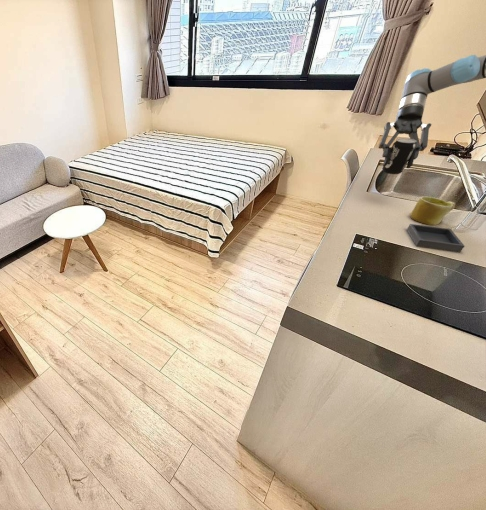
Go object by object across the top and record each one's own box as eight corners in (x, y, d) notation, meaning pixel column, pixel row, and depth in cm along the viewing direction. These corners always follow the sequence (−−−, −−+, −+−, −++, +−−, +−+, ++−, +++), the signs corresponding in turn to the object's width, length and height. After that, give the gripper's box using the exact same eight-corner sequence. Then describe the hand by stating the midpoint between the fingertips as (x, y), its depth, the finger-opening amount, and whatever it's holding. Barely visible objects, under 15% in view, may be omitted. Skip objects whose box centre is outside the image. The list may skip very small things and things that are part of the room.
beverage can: (377, 170, 112) (390, 138, 105) (392, 168, 112) (407, 137, 105) (390, 175, 106) (405, 143, 99) (406, 173, 107) (422, 141, 100)
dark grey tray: (445, 236, 96) (450, 228, 94) (459, 253, 88) (464, 246, 86) (405, 230, 100) (410, 223, 98) (415, 247, 92) (420, 239, 90)
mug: (420, 223, 99) (435, 196, 96) (399, 218, 109) (412, 193, 106) (456, 231, 99) (472, 203, 95) (432, 225, 108) (445, 200, 105)
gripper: (438, 117, 106) (425, 173, 104) (376, 116, 114) (363, 167, 112) (450, 104, 99) (436, 163, 97) (383, 103, 107) (369, 158, 105)
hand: (397, 165), depth 105 cm, fingers closed on beverage can, 6 cm apart
